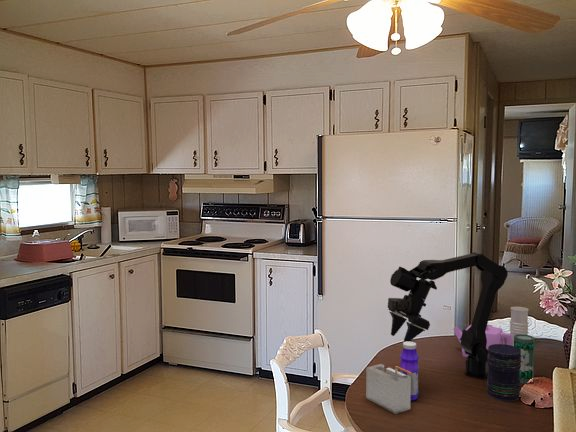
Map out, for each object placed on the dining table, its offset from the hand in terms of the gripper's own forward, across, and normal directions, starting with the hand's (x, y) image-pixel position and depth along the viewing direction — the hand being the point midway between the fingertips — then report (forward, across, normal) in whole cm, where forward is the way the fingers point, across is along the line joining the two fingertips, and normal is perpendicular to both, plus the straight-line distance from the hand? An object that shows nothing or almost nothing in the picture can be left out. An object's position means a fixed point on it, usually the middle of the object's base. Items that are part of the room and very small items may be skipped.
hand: (398, 339), depth 179 cm
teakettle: (-4, -16, +45) cm, 48 cm away
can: (-4, +8, +45) cm, 46 cm away
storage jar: (+2, +17, +32) cm, 36 cm away
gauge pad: (+15, +13, +1) cm, 20 cm away
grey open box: (+18, +13, -2) cm, 22 cm away
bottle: (+14, +10, +6) cm, 19 cm away
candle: (-14, -23, +65) cm, 70 cm away
